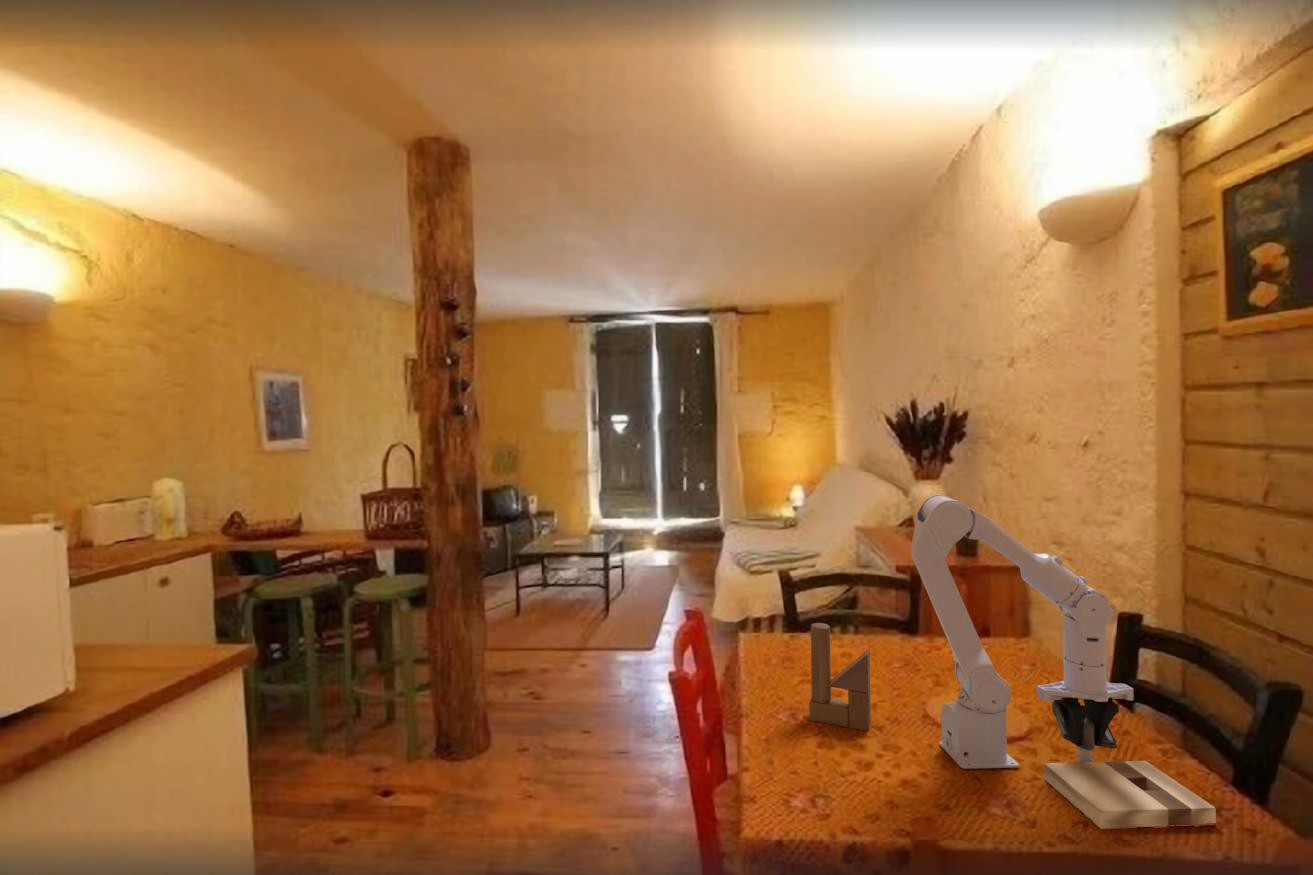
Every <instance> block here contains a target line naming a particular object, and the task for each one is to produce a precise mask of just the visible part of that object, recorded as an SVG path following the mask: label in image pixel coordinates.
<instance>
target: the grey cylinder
mask: <svg viewBox="0 0 1313 875" xmlns="http://www.w3.org/2000/svg"><path fill="white" fill-rule="evenodd" d="M1095 749H1096V745H1095V723H1094V722H1093V721H1092V720H1090V719H1086V718H1085V720H1084V725H1083V743H1082V746H1077V763H1078V762H1094V761H1093V760H1094V759H1093V758H1094V757H1093V756H1094V754H1093V753H1094V752H1093V750H1095Z"/></svg>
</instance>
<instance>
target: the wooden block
mask: <svg viewBox="0 0 1313 875" xmlns="http://www.w3.org/2000/svg"><path fill="white" fill-rule="evenodd" d="M870 650H871V649H870V648H868V649H867V650H865V651H864V652H863V653H862V654H860V655H859V656H858V657H857V658H856V659H854V660H853V661H851V662H850V663H849V664H848V665H847V666H846V667H845V668H843V669H842V670H841V671H840V672H839V673H837V674H836V675H835V676H833V677H831V674H832V672H831V668H832V667H831V626H830V625H829V624H827V623H823V622H816V623H815V622H814V623H811V625H810V663H811V664H810V665H811V666H810V669H811V671H810V672H811V682H810V683H811V684H810V685H811V699H810V701H809V703H808V705H809V708H808V711H809V712H808V713H809V721H812V722H818V723H823V724H829V725H834V726H838V727H843V728H844V727H845V728H848V727H849V728H850V729H853V730H854V729H855V730H860V731H865V732H869V731H870V727H871V723H872V720H871V718H872V717H871V687H870V686H871V664H870V663H871V661H870V660H871V658H870V657H871V653H870V652H871V651H870ZM831 688H835V689H836V688H837V689H841V690H847V691H848V692H847V696H848V697H847V700H848V701H847V702H848V703H846V702H845V701H843V700H842V699H838V698H832V690H831Z"/></svg>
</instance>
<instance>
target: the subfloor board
mask: <svg viewBox="0 0 1313 875" xmlns="http://www.w3.org/2000/svg"><path fill="white" fill-rule="evenodd" d="M1043 770H1044V771H1043V772H1044V780H1045V781H1046V782H1047V783H1048V784H1049V785H1050V786H1051V787H1053V788H1054V789H1055V790H1056V791H1057V792H1058V793H1059V794H1061V795H1062V796H1063V797H1064V798H1065V799H1066V798H1067V799H1066V800H1068V802H1070V803H1071V804H1072V805H1073V806H1074V807H1075V808H1076V809H1078V808H1079V809H1078V810H1079V811H1080V810H1081V811H1082V812H1083V813H1084V814H1083V813H1082V812H1081V811H1080V812H1081V813H1082V814H1083V815H1085V817H1087V818H1088V819H1089V818H1090V819H1091V820H1092V821H1093V822H1092V821H1091V820H1090V819H1089V820H1090V821H1091V822H1092V823H1093V824H1095V825H1096V826H1097V827H1098V828H1099V829H1101V830H1105V829H1106V830H1110V829H1114V830H1115V829H1138V828H1137V827H1141V828H1140V829H1143V828H1142V827H1149V826H1151V827H1153V826H1167V825H1169V826H1170V825H1175V826H1176V825H1198V824H1206V823H1216V824H1217V821H1216V820H1217V818H1216V817H1217V812H1216V811H1217V808H1216V807H1215V806H1214V805H1213V804H1211V803H1209V802H1208V801H1206V800H1205V799H1203V798H1202V797H1200V796H1198V795H1197V794H1196V793H1194V791H1193V792H1192V791H1190V789H1188V788H1187V787H1185V786H1184V785H1182V784H1180V783H1179V782H1178V781H1177V780H1175V779H1174V778H1172V777H1170V776H1169V775H1167V774H1166V773H1165V772H1163V771H1161V770H1160V769H1158V768H1157V767H1155V766H1154V765H1152V764H1151V763H1149V762H1148V761H1146V760H1135V761H1134V760H1132V761H1128V760H1126V761H1123V760H1121V761H1093V762H1078V761H1077V762H1051V763H1050V762H1047V763H1044V769H1043Z"/></svg>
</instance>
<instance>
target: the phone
mask: <svg viewBox="0 0 1313 875" xmlns="http://www.w3.org/2000/svg"><path fill="white" fill-rule="evenodd" d="M1051 705H1052V706H1051V707H1052V711H1053V714H1054V716H1055V719H1056V721H1057V724H1058V727H1059V729H1060V733H1061V735H1062V738H1064V739H1065V740H1068V741H1069V737H1068V733H1067V729H1066V726H1065V723H1064V720H1063V718H1062V715H1061V713H1060V711H1059V709H1058V707H1057V705H1056V704H1055V702H1054V701H1052V703H1051ZM1081 706H1082V707H1084V708H1085V705H1083V704H1081ZM1085 718H1086V719H1087V716H1086V717H1085ZM1101 746H1102V747H1107V748H1113V747H1112V746H1116V747H1117V741H1116V738H1115V736H1114V734H1113V733H1112V730H1111V728H1110V727H1109V726H1108V727H1107V730H1106V732H1105V735H1104V738H1103V741H1102V744H1101ZM1101 746H1100V747H1101Z"/></svg>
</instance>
